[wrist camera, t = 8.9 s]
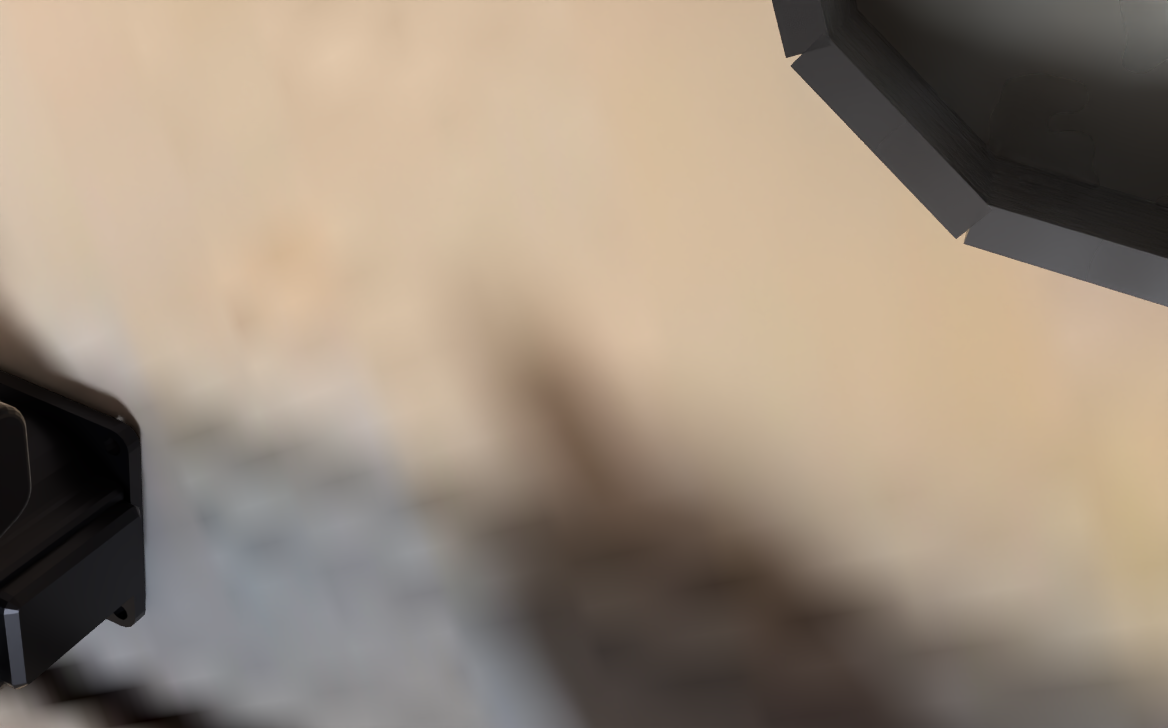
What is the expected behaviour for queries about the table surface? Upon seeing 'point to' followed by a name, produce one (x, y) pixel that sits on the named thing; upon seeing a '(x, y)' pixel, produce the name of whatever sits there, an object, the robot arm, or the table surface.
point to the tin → (1010, 120)
